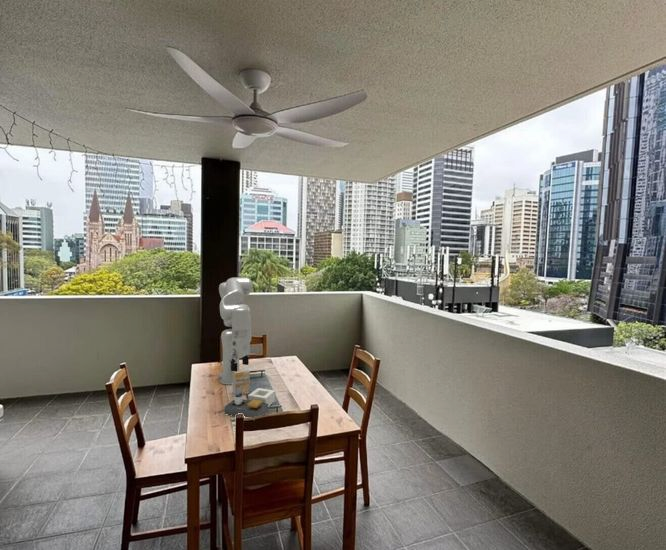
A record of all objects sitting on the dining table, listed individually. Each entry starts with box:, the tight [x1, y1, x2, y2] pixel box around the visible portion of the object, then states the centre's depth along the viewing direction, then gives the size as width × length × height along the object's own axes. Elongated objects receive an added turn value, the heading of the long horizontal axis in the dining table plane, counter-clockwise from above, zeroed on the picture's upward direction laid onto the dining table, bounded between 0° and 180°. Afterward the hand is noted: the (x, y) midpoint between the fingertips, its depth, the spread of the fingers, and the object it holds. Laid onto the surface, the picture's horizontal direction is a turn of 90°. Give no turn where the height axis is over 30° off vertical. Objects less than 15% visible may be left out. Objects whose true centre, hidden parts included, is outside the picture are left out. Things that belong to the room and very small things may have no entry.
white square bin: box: [247, 387, 276, 408], centre depth 173 cm, size 10×10×6 cm
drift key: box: [248, 399, 262, 409], centre depth 162 cm, size 5×5×5 cm
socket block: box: [223, 398, 269, 418], centre depth 164 cm, size 18×10×4 cm, turn 72°
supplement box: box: [231, 368, 251, 397], centre depth 185 cm, size 8×5×13 cm, turn 122°
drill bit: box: [234, 386, 244, 406], centre depth 165 cm, size 4×4×12 cm
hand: (239, 367), depth 164 cm, fingers open, 9 cm apart
